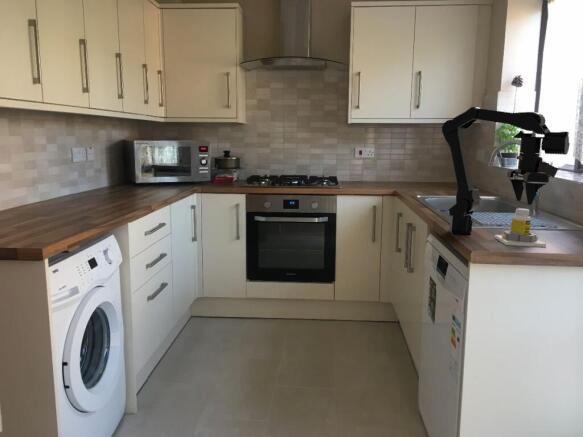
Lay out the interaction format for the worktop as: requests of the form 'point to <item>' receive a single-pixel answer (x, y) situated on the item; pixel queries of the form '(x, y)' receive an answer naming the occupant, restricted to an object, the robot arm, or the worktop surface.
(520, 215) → the supplement bottle
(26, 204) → the worktop surface
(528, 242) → the socket base
